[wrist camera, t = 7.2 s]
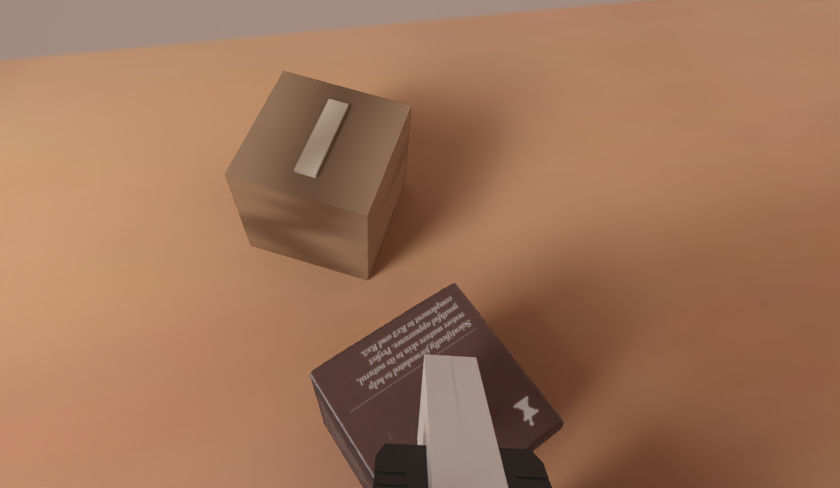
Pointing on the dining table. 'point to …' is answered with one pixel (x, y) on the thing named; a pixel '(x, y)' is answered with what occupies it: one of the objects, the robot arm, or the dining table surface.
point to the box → (402, 381)
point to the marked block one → (321, 173)
